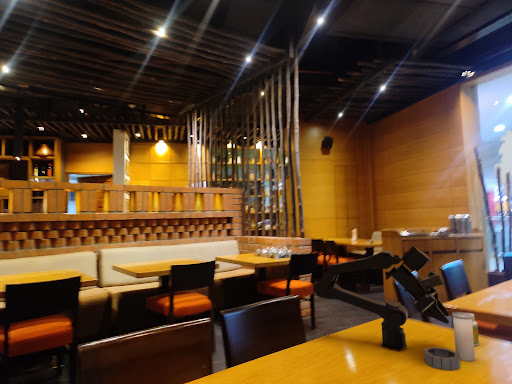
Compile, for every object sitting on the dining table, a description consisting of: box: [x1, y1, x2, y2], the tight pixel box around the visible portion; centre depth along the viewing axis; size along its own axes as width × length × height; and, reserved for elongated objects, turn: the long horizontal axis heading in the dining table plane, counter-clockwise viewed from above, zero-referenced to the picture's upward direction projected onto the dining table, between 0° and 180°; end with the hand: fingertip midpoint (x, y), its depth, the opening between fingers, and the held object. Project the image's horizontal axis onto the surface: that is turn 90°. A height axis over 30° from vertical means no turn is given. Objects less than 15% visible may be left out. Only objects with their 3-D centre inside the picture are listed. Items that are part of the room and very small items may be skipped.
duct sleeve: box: [452, 311, 476, 362], centre depth 103 cm, size 5×5×13 cm
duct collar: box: [423, 346, 461, 371], centre depth 99 cm, size 9×9×3 cm
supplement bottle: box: [467, 312, 480, 347], centre depth 115 cm, size 5×5×10 cm
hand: (448, 319), depth 106 cm, fingers open, 9 cm apart
